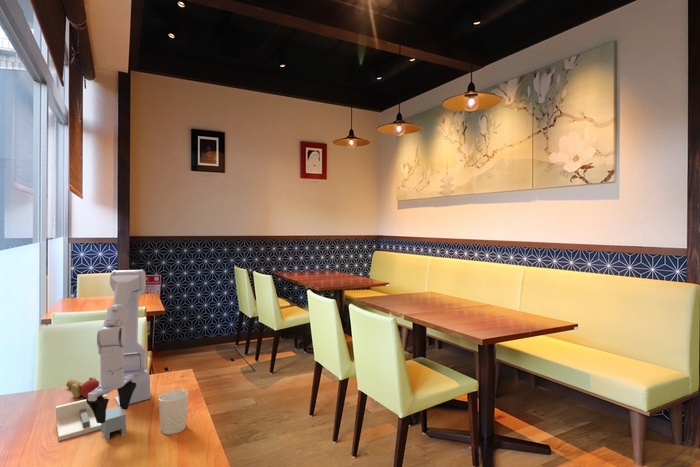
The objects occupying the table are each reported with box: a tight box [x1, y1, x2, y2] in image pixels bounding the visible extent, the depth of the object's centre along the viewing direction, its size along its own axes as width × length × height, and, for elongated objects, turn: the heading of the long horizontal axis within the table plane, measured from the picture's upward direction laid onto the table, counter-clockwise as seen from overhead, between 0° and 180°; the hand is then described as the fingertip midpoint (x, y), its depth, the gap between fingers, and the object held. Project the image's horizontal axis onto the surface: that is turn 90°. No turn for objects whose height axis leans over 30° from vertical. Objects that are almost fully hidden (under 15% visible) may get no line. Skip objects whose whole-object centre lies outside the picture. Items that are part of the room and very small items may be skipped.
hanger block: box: [100, 405, 127, 441], centre depth 115 cm, size 5×7×6 cm
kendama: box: [66, 376, 101, 399], centre depth 140 cm, size 8×6×18 cm
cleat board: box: [55, 394, 108, 441], centre depth 119 cm, size 13×12×5 cm
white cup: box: [158, 388, 189, 435], centre depth 117 cm, size 8×8×10 cm
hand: (112, 415), depth 114 cm, fingers closed on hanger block, 7 cm apart
